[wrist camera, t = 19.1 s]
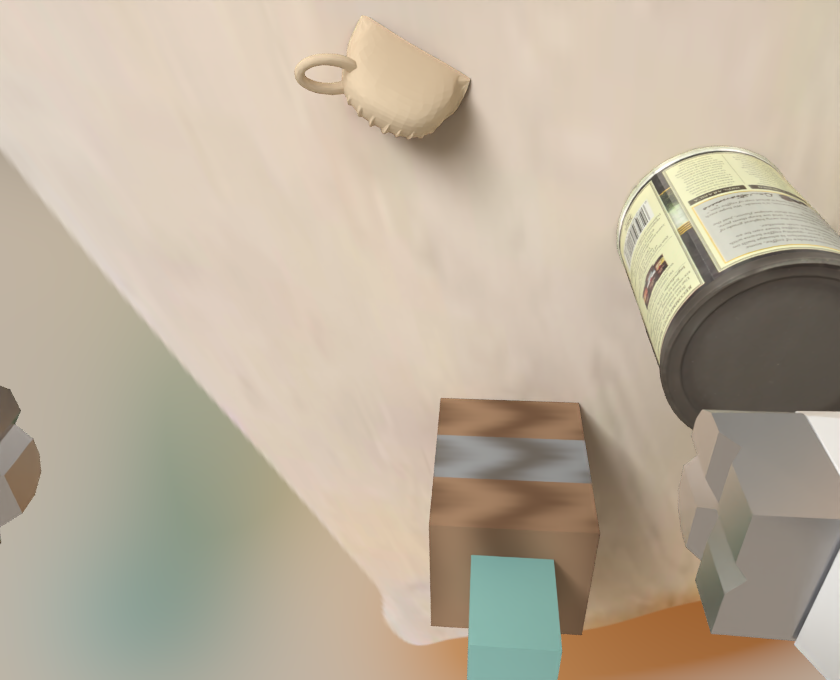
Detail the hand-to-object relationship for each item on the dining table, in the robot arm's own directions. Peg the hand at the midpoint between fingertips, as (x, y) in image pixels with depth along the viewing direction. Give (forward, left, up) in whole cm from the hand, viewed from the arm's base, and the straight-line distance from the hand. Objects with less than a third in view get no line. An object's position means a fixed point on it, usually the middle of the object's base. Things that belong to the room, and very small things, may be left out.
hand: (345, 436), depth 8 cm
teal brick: (-4, +32, -22) cm, 39 cm away
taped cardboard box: (-4, +32, -34) cm, 47 cm away
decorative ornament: (+3, +4, -34) cm, 35 cm away
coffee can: (-15, +13, -34) cm, 40 cm away
